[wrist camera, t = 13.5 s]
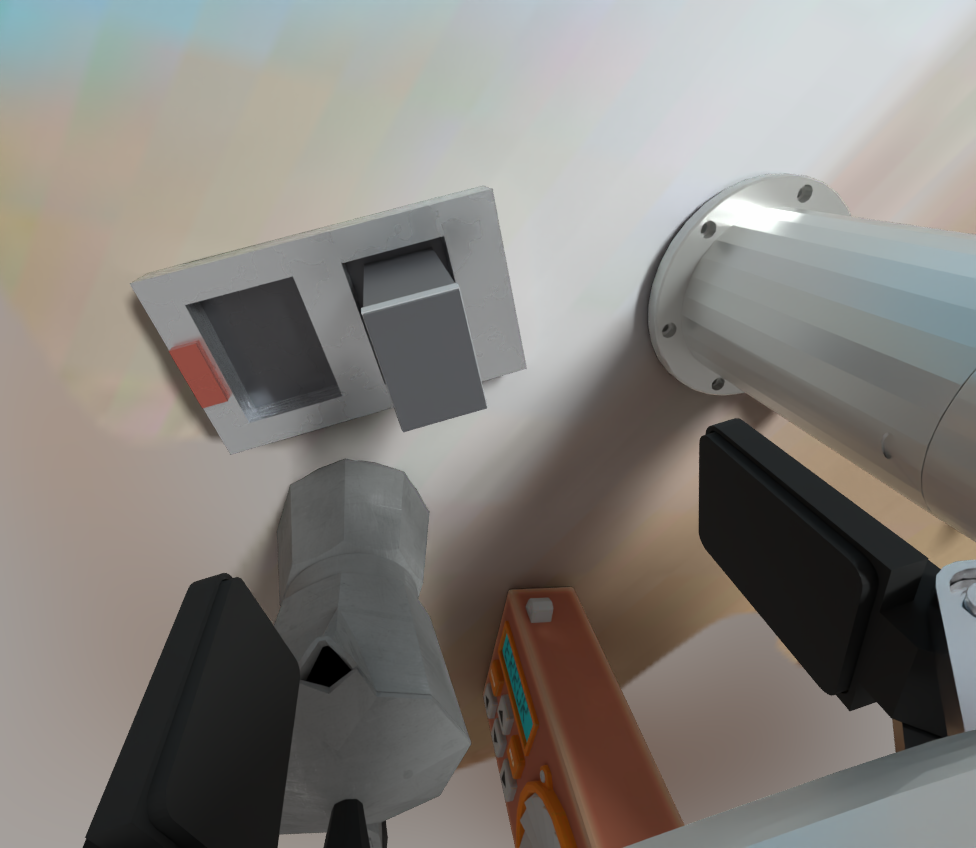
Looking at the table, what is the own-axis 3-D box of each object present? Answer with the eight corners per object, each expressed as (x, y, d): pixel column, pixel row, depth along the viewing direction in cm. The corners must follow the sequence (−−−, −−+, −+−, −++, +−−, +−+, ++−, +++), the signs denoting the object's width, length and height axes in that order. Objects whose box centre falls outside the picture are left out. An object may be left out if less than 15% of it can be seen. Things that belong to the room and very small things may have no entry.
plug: (432, 245, 25) (460, 288, 17) (455, 338, 27) (488, 409, 20) (362, 263, 24) (360, 314, 17) (392, 355, 27) (402, 433, 20)
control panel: (471, 703, 44) (501, 575, 37) (546, 696, 45) (588, 572, 39) (547, 1107, 25) (635, 999, 19) (668, 1067, 27) (787, 956, 20)
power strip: (483, 185, 24) (494, 189, 22) (517, 355, 29) (529, 372, 26) (147, 273, 23) (124, 286, 21) (239, 435, 27) (228, 460, 25)
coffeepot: (252, 435, 28) (110, 799, 12) (424, 419, 29) (487, 720, 14) (301, 625, 35) (251, 999, 20) (436, 603, 37) (486, 931, 21)
